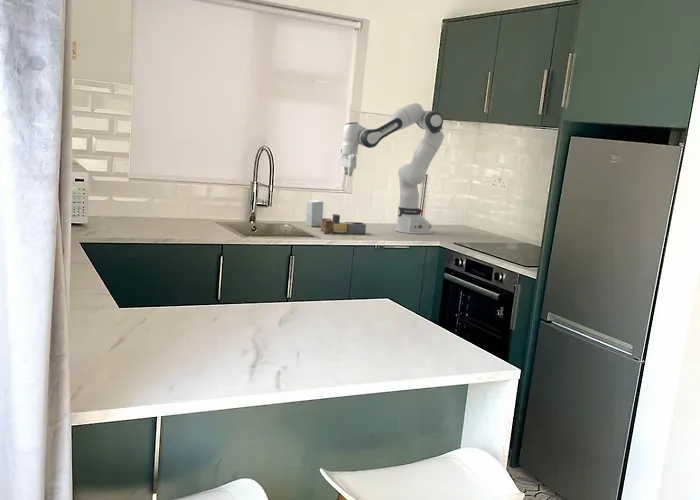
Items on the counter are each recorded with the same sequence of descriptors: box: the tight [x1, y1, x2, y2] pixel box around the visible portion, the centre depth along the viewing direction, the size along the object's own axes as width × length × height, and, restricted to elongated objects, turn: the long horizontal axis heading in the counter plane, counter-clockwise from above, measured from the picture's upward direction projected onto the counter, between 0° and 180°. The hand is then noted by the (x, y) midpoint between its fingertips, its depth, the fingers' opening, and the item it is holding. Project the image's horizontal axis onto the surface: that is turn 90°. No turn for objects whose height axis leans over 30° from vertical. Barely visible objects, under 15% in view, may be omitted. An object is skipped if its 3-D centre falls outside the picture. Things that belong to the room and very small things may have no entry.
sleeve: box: [344, 221, 367, 236], centre depth 398 cm, size 10×8×6 cm
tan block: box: [331, 213, 353, 233], centre depth 395 cm, size 14×4×9 cm, turn 105°
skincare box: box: [305, 199, 324, 227], centre depth 413 cm, size 8×6×15 cm
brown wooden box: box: [320, 217, 334, 234], centre depth 394 cm, size 5×9×7 cm, turn 15°
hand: (348, 175), depth 403 cm, fingers open, 8 cm apart
